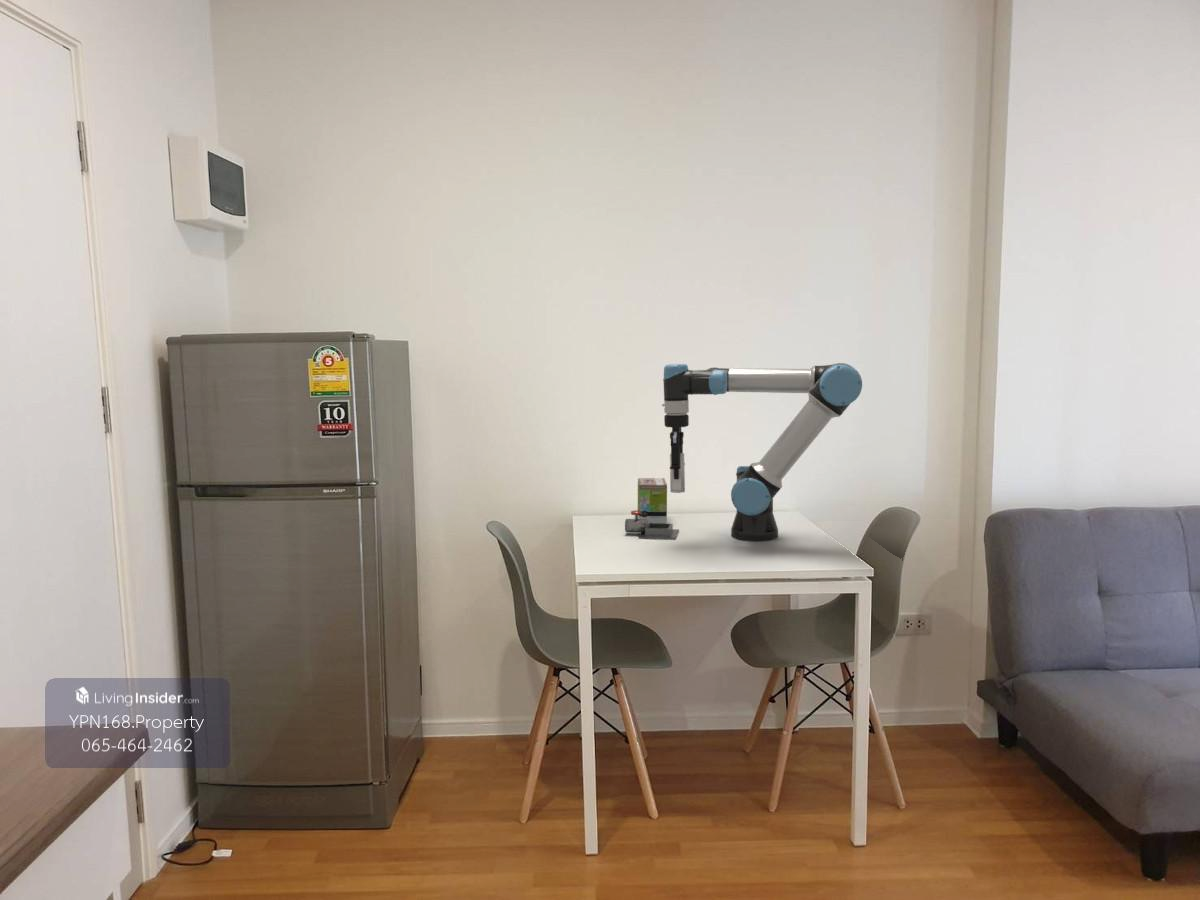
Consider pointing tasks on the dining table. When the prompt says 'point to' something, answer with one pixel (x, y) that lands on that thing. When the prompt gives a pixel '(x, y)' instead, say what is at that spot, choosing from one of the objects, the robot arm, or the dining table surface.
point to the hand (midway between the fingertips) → (677, 487)
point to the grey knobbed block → (650, 528)
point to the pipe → (681, 475)
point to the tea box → (652, 499)
